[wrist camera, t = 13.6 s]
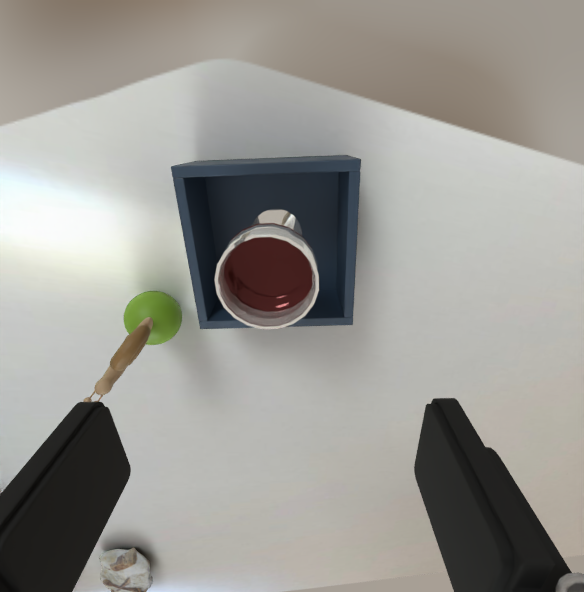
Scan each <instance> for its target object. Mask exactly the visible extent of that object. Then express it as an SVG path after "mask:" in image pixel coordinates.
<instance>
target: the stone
mask: <svg viewBox="0 0 584 592" xmlns="http://www.w3.org/2000/svg"><path fill="white" fill-rule="evenodd" d="M99 559H100V562H101V566H102V570H101V577H100V579H101V581H102V582H103V584H104V585H105V586H106V587H107V588H108V589H109V590H110V591H111V592H146V591H147V589H148V588H150V586H151V584H152V582H153V578H152V576H151V575H150V562H149V561H148V560H147V559H146V558H145V557H144V556H143V555H141V554H140V553H139V552H138V551H137V550H135V548H132V549H130V550H123V549H113V550H108V551H106V552H104V553H103V554H102V555H101V556H100V558H99Z"/></svg>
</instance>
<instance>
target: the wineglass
mask: <svg viewBox="0 0 584 592" xmlns="http://www.w3.org/2000/svg"><path fill="white" fill-rule="evenodd" d="M214 280H215V286H216V292H217V295H218V297H219V299H220V301H221V303H222V305H223V307H224V308H225V309H226V310H227V311H228V312H229V313H230V314H231V315H232V316H233V317H234V318H235V319H237V320H239V321H240V322H242V323H244V324H246V325H248V326H251V327H255V328H260V329H279V328H283V327H286V326H289V325H292V324H294V323H295V322H297V321H298V320H300V319H301V318H303V317H304V316H305V315H306V314H307V313H308V311H309V310H310V309H311V308H312V306H313V305H314V303H315V300H316V297H317V294H318V291H319V274H318V263H317V261H316V258H315V255H314V252H313V250H312V248H311V246H310V245H309V244H308V243H307V241H306V240H305V239H304V238H303V236H302V229H301V226H300V224H299V222H298V220H297V219H296V218H295V217H294V215H292V214H291V213H289V212H288V211H285V210H281V209H270V210H267V211H265V212H262V213H261V214H260V215H259V216H258V217H257V218H256V219H255V221H254V222H253V224H252V226H250V227H248V228H245V229H243V230H242V231H240V232H239V233H238V234H237V235H236V236H234V237H233V238H232V239H231V241H230V242H229V244H228V246H227V247H226V249H225V251H224V252H223V255H222V257H221V259H220V260H219V262H218V264H217V268H216V274H215V279H214Z"/></svg>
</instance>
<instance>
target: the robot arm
mask: <svg viewBox="0 0 584 592" xmlns="http://www.w3.org/2000/svg"><path fill="white" fill-rule="evenodd" d="M414 470H415V477H416V481H417V483H418V486H419V489H420V492H421V495H422V498H423V501H424V504H425V507H426V510H427V513H428V516H429V519H430V522H431V525H432V528H433V531H434V534H435V537H436V540H437V543H438V546H439V549H440V551H441V554H442V557H443V560H444V563H445V566H446V569H447V572H448V575H449V578H450V581H451V584H452V587H453V589H454V592H584V574H581V573H572V572H571V571H570V569H569V568H568V566H567V564H566V563H565V561H564V560H563V558H562V556H561V555H560V553H559V552H558V550H557V548H556V547H555V545H554V544H553V542H552V540H551V539H550V537H549V536H548V534H547V532H546V531H545V529H544V527H543V526H542V524H541V523H540V521H539V519H538V518H537V516H536V515H535V513H534V511H533V510H532V508H531V507H530V505H529V503H528V502H527V500H526V499H525V497H524V495H523V494H522V492H521V491H520V489H519V487H518V486H517V484H516V483H515V481H514V479H513V478H512V476H511V475H510V473H509V471H508V470H507V468H506V466H505V465H504V463H503V462H502V460H501V458H500V457H499V456H498V454H497V453H496V452H495V451H494V450H493V449H492V448H488V447H485V446H484V444H483V442H482V441H481V439H480V437H479V436H478V434H477V432H476V431H475V429H474V427H473V426H472V424H471V422H470V421H469V419H468V417H467V416H466V414H465V412H464V411H463V409H462V407H461V406H460V404H459V402H458V401H457V400H456V399H455V398H440V399H433V400H432V403H431V404H427V405H426V408H425V413H424V418H423V424H422V429H421V434H420V439H419V445H418V450H417V455H416V460H415V467H414ZM130 471H131V468H130V464H129V462H128V459H127V456H126V453H125V451H124V448H123V445H122V443H121V440H120V437H119V435H118V432H117V429H116V427H115V424H114V421H113V418H112V416H111V413H110V410H109V408H108V407H105V406H104V404H103V403H102V402H80V403H77V404H76V405H75V406H74V407H73V409H72V410H71V411H70V412H69V413H68V415H67V416H66V417H65V418H64V419H63V421H62V422H61V423H60V424H59V425H58V427H57V428H56V429H55V430H54V431H53V432H52V434H51V435H50V436H49V437H48V438H47V440H46V441H45V442H44V443H43V444H42V446H41V447H40V448H39V449H38V450H37V452H36V453H35V454H34V455H33V456H32V457H31V459H30V460H29V461H28V462H27V463H26V465H25V466H24V467H23V468H22V469H21V471H20V472H19V473H18V474H17V475H16V477H15V478H14V479H13V480H12V481H11V482H10V484H9V485H8V486H7V487H6V488H5V490H4V491H3V492H2V493H1V494H0V592H72V591H73V589H74V587H75V585H76V583H77V581H78V579H79V577H80V575H81V573H82V571H83V569H84V567H85V565H86V563H87V561H88V559H89V557H90V555H91V553H92V551H93V549H94V547H95V545H96V543H97V541H98V539H99V537H100V535H101V533H102V531H103V529H104V527H105V525H106V523H107V521H108V519H109V517H110V515H111V513H112V511H113V509H114V507H115V505H116V503H117V501H118V499H119V497H120V495H121V493H122V492H123V490H124V488H125V486H126V484H127V482H128V479H129V476H130Z"/></svg>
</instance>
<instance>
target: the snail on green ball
mask: <svg viewBox="0 0 584 592" xmlns="http://www.w3.org/2000/svg"><path fill="white" fill-rule="evenodd" d="M181 322H182V313H181V309H180V307H179V305H178V303H177V302H176V301H175V300H174V299H173V298H172V297H171V296H169V295H168V294H165V293H163V292H158V291H149V292H144V293H142V294H139V295H138V296H136V297H135V298H133V299H132V300H131V301H130V303H129V304H128V305H127V307H126V309H125V313H124V325H125V328H126V330H127V332H128V333H129V335H128V336H127V337H126V339H125V341H124V342H123V344H122V345H121V346H120V348H119V349H118V350H117V352H116V353H115V354H114V356H113V357H112V359H111V361H110V366H109V368H108V369H107V371H106V372H105V374H104V376H103V377H102V378H101V379H100V380H99V381H98V382H97V383H96V385H95V391H94V393H95V392H96V393H97V394H98V395H101V397H102V396H103V395H104V394H107V393H108V392H109V391H110V390H111V389H112V386H113V384H114V383H115V382H116V381H117V379H118V378H119V377H120V376H121V375H122V373H123V372H124V371H125V369H126V367H127V366H128V365H130V364H131V363H132V362H133V361H134V360H135V359H136V357H137V356H138V355H139V353H140V352H141V350H142V349H143V347H144V346H145V344H148V345H157V344H161V343H164V342H166V341H168V340H170V339H171V338H172V337H173V336H174V335H175V334H176V333H177V332H178V330H179V328H180V326H181ZM94 393H93V394H94ZM93 394H92V395H91V396H90V398H89V397H87V398H85V399H84V402H91V397H92V396H93ZM101 397H100V398H99V400H100V399H101ZM99 400H98V401H94V402H99Z"/></svg>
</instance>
